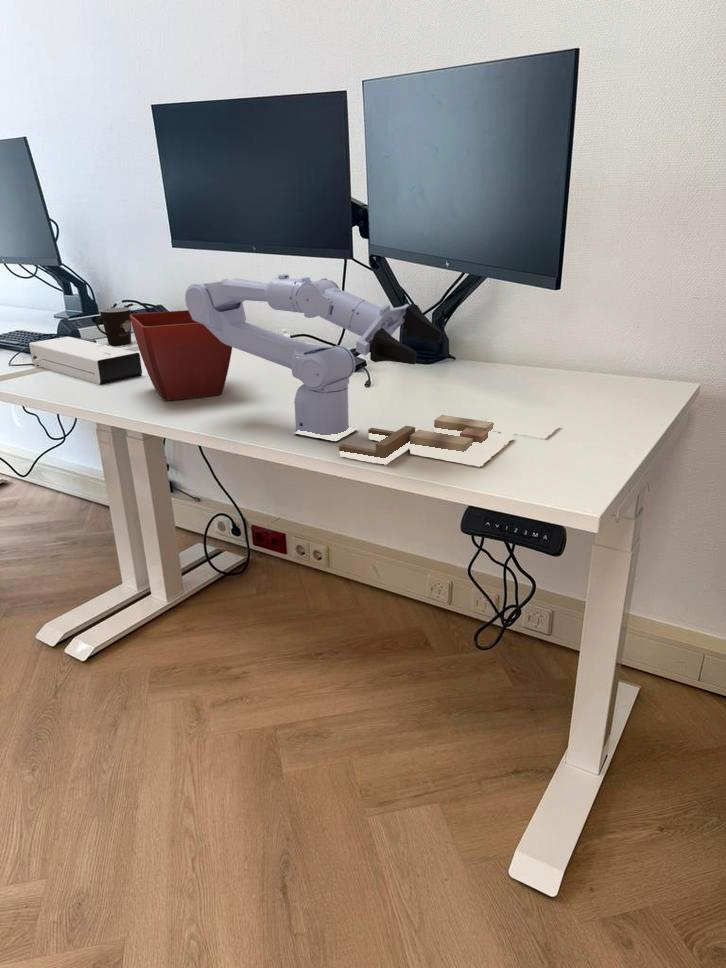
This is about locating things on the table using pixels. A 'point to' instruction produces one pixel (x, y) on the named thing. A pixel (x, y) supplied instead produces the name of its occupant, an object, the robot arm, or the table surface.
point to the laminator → (86, 359)
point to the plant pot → (181, 354)
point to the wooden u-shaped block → (469, 434)
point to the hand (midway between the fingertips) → (428, 347)
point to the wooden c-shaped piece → (383, 442)
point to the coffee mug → (116, 325)
